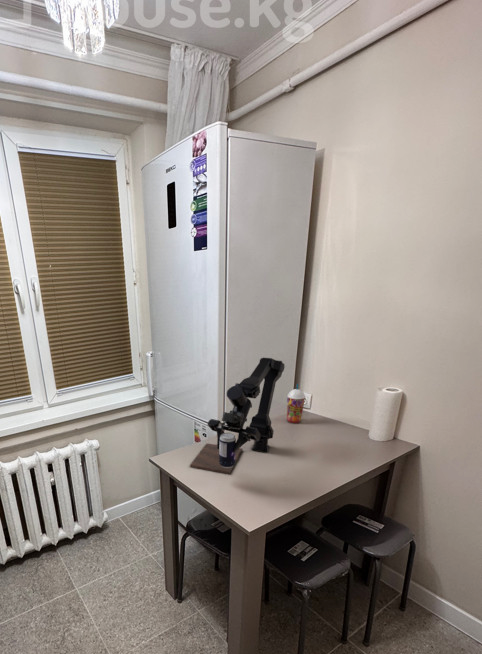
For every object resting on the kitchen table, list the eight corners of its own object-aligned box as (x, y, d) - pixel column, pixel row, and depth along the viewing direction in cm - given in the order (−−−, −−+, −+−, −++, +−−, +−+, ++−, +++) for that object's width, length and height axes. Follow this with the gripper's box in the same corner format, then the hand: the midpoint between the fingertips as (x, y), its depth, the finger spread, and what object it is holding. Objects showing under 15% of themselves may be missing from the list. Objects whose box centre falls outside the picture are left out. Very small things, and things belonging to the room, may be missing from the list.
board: (206, 445, 163) (206, 443, 163) (241, 450, 156) (242, 448, 156) (190, 466, 145) (190, 464, 145) (229, 474, 138) (229, 472, 138)
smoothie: (286, 424, 181) (290, 386, 174) (283, 418, 189) (287, 381, 182) (304, 424, 180) (308, 386, 173) (300, 418, 188) (304, 381, 180)
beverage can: (233, 470, 128) (234, 439, 123) (217, 467, 130) (218, 438, 125) (236, 462, 132) (237, 433, 128) (220, 460, 135) (221, 431, 130)
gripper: (209, 398, 131) (194, 436, 127) (259, 406, 120) (244, 448, 116) (219, 411, 140) (205, 447, 136) (266, 420, 128) (252, 460, 125)
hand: (225, 450), depth 128 cm, fingers closed on beverage can, 5 cm apart
